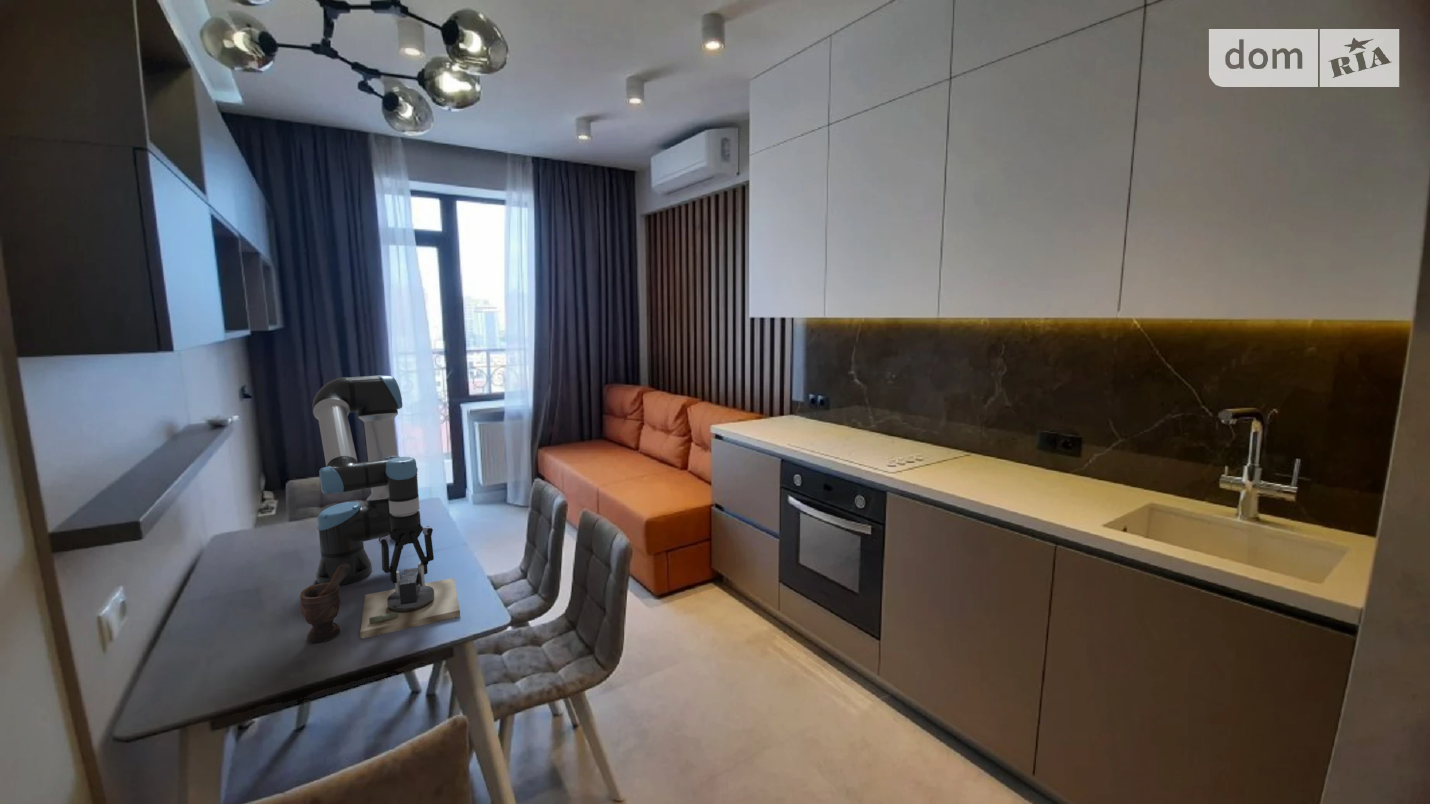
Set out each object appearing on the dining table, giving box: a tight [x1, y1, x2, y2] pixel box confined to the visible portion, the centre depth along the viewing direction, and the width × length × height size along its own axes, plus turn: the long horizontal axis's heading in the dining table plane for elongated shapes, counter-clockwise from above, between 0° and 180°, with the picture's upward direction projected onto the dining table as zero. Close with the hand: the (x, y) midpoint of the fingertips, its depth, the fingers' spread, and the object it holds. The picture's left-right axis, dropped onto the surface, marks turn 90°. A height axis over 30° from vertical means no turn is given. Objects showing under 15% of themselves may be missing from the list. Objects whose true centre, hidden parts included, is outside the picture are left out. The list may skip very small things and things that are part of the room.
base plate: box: [359, 577, 461, 639], centre depth 163 cm, size 24×22×4 cm
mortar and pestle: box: [299, 563, 351, 644], centre depth 148 cm, size 12×9×20 cm
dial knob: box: [387, 567, 434, 613], centre depth 163 cm, size 14×12×8 cm
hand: (410, 588), depth 162 cm, fingers closed on dial knob, 6 cm apart
